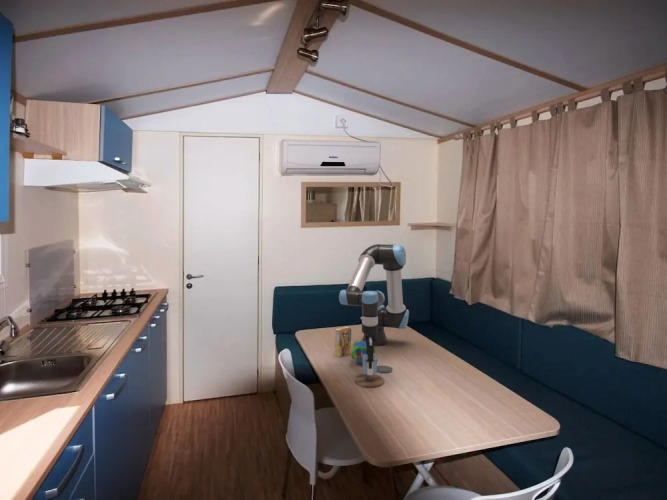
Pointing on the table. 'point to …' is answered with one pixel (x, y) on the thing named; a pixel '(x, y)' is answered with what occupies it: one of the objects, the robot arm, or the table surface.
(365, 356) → the cube with round hole
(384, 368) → the coaster
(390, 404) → the table surface
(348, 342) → the candy box
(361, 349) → the snack cup
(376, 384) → the post stand
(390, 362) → the table surface
